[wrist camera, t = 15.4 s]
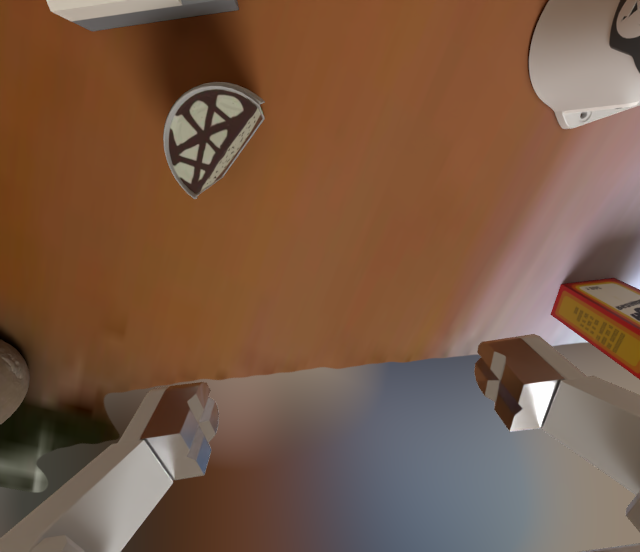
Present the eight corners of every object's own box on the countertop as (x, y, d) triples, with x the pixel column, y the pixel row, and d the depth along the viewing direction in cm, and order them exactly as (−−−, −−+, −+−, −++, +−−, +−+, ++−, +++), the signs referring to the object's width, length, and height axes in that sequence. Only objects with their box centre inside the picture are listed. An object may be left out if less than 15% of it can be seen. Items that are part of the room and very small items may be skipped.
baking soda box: (550, 314, 52) (644, 382, 38) (561, 284, 49) (667, 346, 35) (600, 308, 52) (712, 374, 38) (614, 277, 49) (741, 337, 35)
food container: (229, 66, 32) (202, 40, 23) (272, 108, 34) (262, 99, 25) (174, 153, 36) (133, 160, 27) (216, 186, 38) (190, 202, 29)
